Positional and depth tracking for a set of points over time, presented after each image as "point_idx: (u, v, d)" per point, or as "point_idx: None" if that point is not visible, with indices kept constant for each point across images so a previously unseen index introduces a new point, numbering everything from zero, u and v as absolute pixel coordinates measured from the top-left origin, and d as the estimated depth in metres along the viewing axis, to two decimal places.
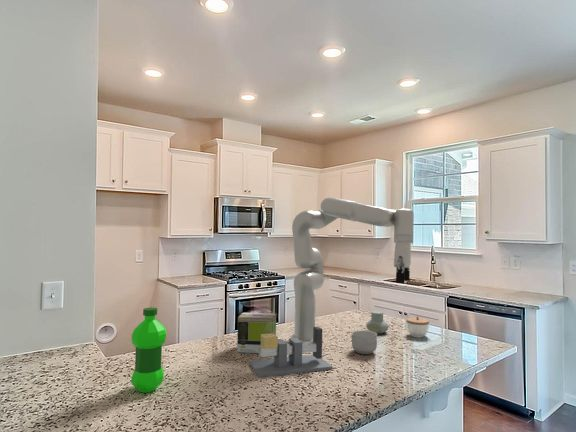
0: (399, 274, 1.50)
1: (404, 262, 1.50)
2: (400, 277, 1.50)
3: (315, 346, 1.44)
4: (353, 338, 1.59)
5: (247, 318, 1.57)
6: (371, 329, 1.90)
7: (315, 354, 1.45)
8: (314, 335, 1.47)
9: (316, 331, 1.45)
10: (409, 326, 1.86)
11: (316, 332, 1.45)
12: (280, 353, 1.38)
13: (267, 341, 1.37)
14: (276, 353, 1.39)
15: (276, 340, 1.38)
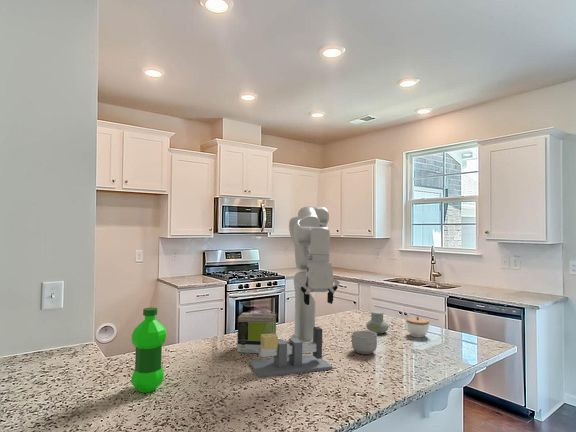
0: None
1: None
2: None
3: (315, 346, 1.44)
4: (353, 338, 1.59)
5: (247, 318, 1.57)
6: (371, 329, 1.90)
7: (315, 354, 1.45)
8: (314, 335, 1.47)
9: (316, 331, 1.45)
10: (409, 326, 1.86)
11: (316, 332, 1.45)
12: (280, 353, 1.38)
13: (267, 341, 1.37)
14: (276, 353, 1.39)
15: (276, 340, 1.38)
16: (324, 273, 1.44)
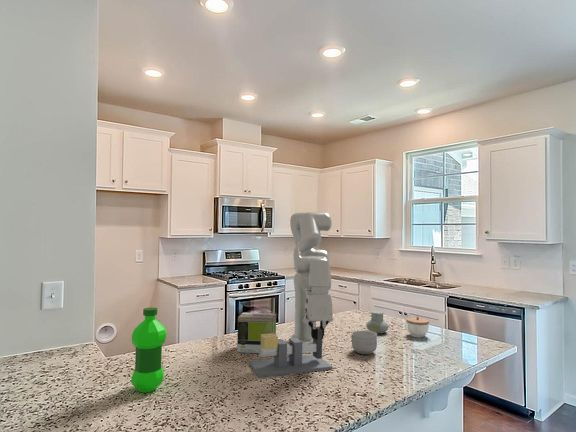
0: None
1: None
2: None
3: (315, 346, 1.44)
4: (353, 338, 1.59)
5: (247, 318, 1.57)
6: (371, 329, 1.90)
7: (315, 354, 1.45)
8: None
9: None
10: (409, 326, 1.86)
11: None
12: (280, 353, 1.38)
13: (267, 341, 1.37)
14: (276, 353, 1.39)
15: (276, 340, 1.38)
16: (323, 305, 1.44)
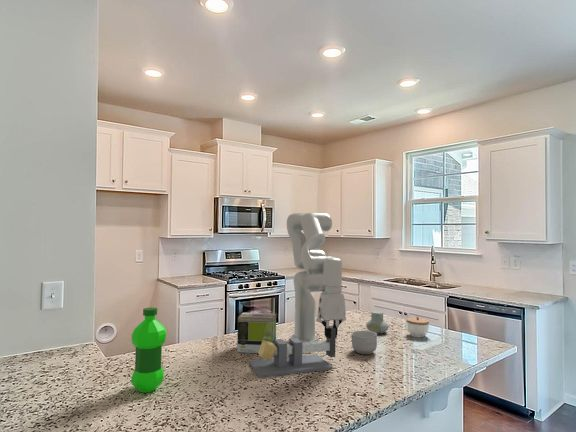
0: None
1: None
2: None
3: (328, 345, 1.46)
4: (353, 338, 1.59)
5: (247, 318, 1.57)
6: (371, 329, 1.90)
7: (329, 352, 1.47)
8: None
9: None
10: (409, 326, 1.86)
11: None
12: (280, 353, 1.38)
13: (266, 355, 1.37)
14: (290, 352, 1.41)
15: (269, 346, 1.37)
16: (337, 304, 1.46)
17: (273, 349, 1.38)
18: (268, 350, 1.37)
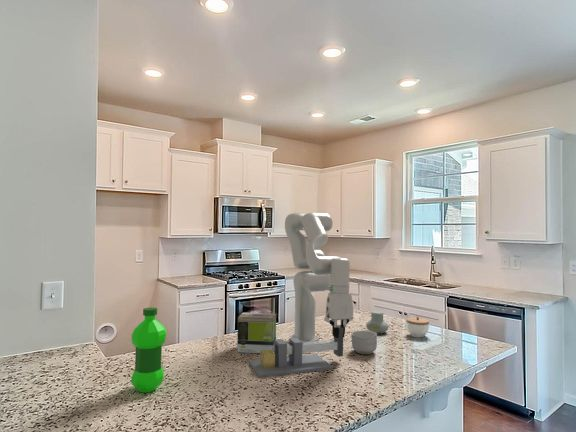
0: None
1: None
2: None
3: (336, 344, 1.47)
4: (353, 338, 1.59)
5: (247, 318, 1.57)
6: (371, 329, 1.90)
7: (336, 352, 1.48)
8: None
9: None
10: (409, 326, 1.86)
11: None
12: (280, 353, 1.38)
13: (268, 365, 1.37)
14: None
15: (267, 355, 1.37)
16: (344, 304, 1.47)
17: (272, 357, 1.37)
18: (268, 360, 1.37)
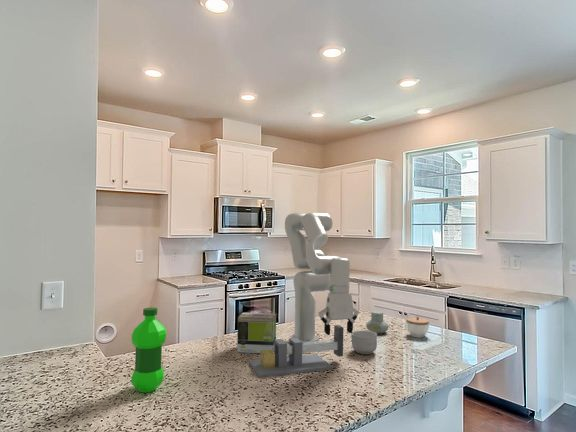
0: None
1: None
2: None
3: (336, 344, 1.47)
4: (353, 338, 1.59)
5: (247, 318, 1.57)
6: (371, 329, 1.90)
7: (336, 352, 1.48)
8: (335, 333, 1.50)
9: (337, 329, 1.48)
10: (409, 326, 1.86)
11: (337, 330, 1.48)
12: (280, 353, 1.38)
13: (268, 365, 1.37)
14: None
15: (267, 355, 1.37)
16: (344, 304, 1.47)
17: (272, 357, 1.37)
18: (268, 360, 1.37)
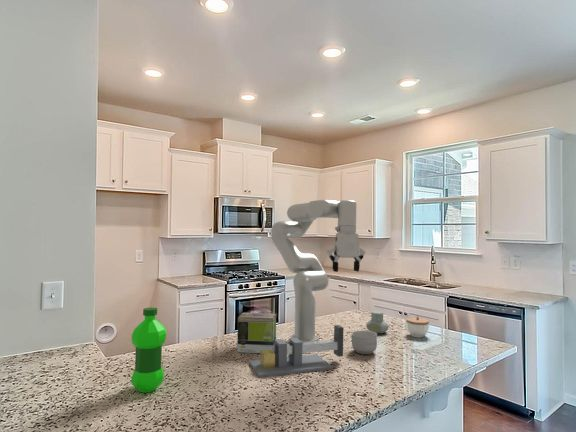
0: None
1: None
2: None
3: (336, 344, 1.47)
4: (353, 338, 1.59)
5: (247, 318, 1.57)
6: (371, 329, 1.90)
7: (336, 352, 1.48)
8: (335, 333, 1.50)
9: (337, 329, 1.48)
10: (409, 326, 1.86)
11: (337, 330, 1.48)
12: (280, 353, 1.38)
13: (268, 365, 1.37)
14: None
15: (267, 355, 1.37)
16: (351, 243, 1.56)
17: (272, 357, 1.37)
18: (268, 360, 1.37)
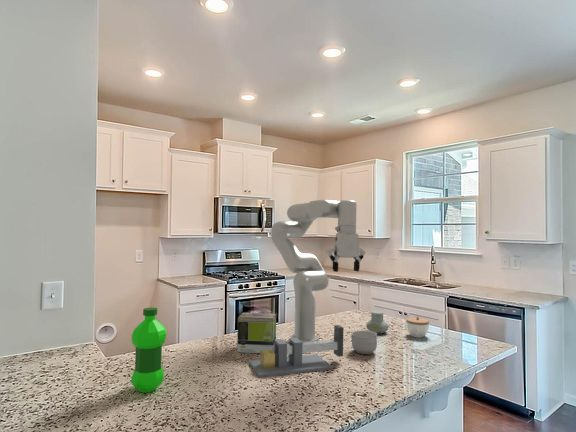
0: None
1: None
2: None
3: (336, 344, 1.47)
4: (353, 338, 1.59)
5: (247, 318, 1.57)
6: (371, 329, 1.90)
7: (336, 352, 1.48)
8: (335, 333, 1.50)
9: (337, 329, 1.48)
10: (409, 326, 1.86)
11: (337, 330, 1.48)
12: (280, 353, 1.38)
13: (268, 365, 1.37)
14: None
15: (267, 355, 1.37)
16: (352, 242, 1.56)
17: (272, 357, 1.37)
18: (268, 360, 1.37)
